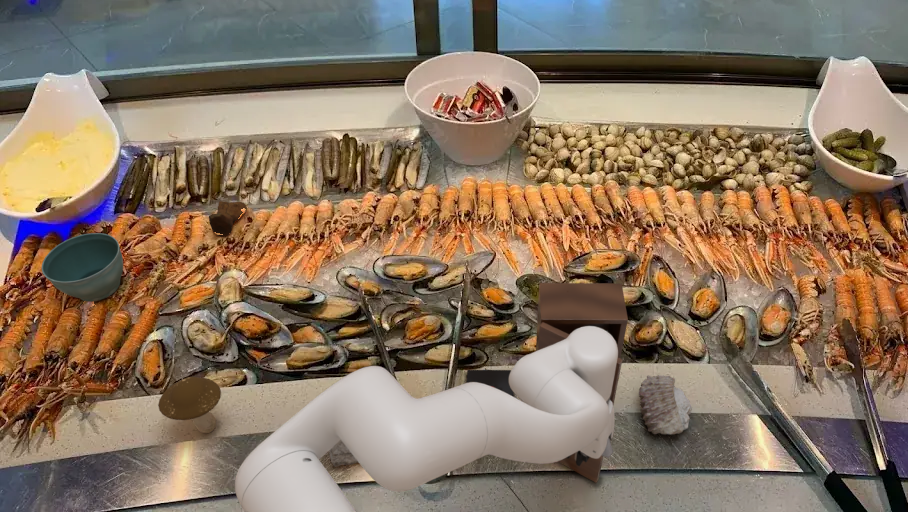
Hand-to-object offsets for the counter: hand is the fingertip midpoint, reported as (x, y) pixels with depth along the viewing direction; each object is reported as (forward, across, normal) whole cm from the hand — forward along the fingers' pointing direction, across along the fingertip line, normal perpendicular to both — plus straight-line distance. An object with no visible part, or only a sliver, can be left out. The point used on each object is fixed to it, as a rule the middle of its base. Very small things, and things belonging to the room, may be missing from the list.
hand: (576, 454), depth 111 cm
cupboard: (+18, -9, +13) cm, 24 cm away
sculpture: (+18, -116, +9) cm, 118 cm away
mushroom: (+17, -67, -31) cm, 76 cm away
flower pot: (+17, -121, -24) cm, 124 cm away
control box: (+18, -26, +9) cm, 33 cm away
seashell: (+18, +5, +27) cm, 33 cm away
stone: (+18, -40, -14) cm, 46 cm away
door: (+17, -5, +3) cm, 18 cm away
